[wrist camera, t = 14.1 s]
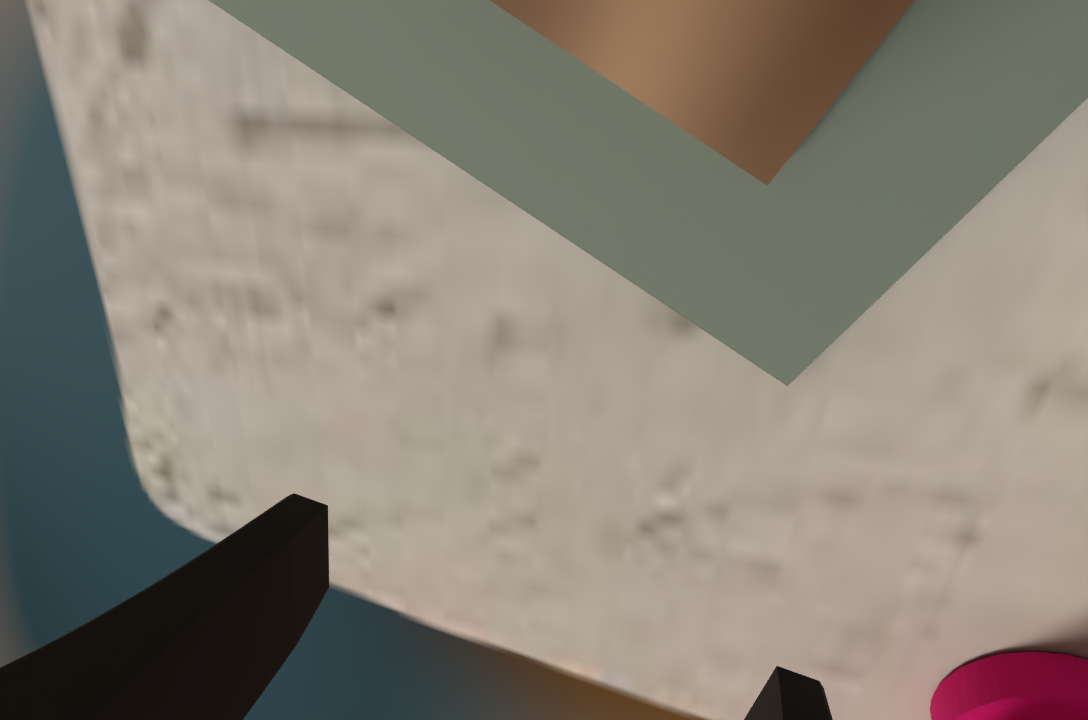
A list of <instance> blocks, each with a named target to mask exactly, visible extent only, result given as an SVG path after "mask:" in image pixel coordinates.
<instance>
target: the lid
mask: <svg viewBox="0 0 1088 720" xmlns="http://www.w3.org/2000/svg"><path fill="white" fill-rule="evenodd" d="M490 1H491V2H493V3H494V4H496V5H497V6H499V7H500V8H502V9H503V10H505V11H506V12H508V13H509V14H511V15H512V16H514V17H515V18H517V19H518V20H520V21H521V22H523V23H524V24H526V25H527V26H529V27H530V28H532V29H533V30H535V31H536V32H538V33H539V34H541V35H542V36H544V37H545V38H547V39H548V40H550V41H551V42H553V43H554V44H556V45H557V46H559V47H560V48H562V49H563V50H565V51H566V52H568V53H569V54H571V55H572V56H574V57H575V58H577V59H578V60H580V61H581V62H583V63H584V64H586V65H587V66H589V67H590V68H592V69H593V70H595V71H596V72H598V73H599V74H601V75H602V76H604V77H605V78H607V79H608V80H610V81H611V82H613V83H614V84H616V85H617V86H619V87H620V88H622V89H623V90H625V91H626V92H628V93H629V94H631V95H632V96H634V97H635V98H637V99H638V100H640V101H641V102H643V103H644V104H646V105H647V106H649V107H650V108H652V109H653V110H655V111H656V112H658V113H659V114H661V115H662V116H664V117H665V118H667V119H668V120H670V121H671V122H673V123H674V124H676V125H677V126H679V127H680V128H682V129H683V130H685V131H686V132H688V133H689V134H691V135H692V136H694V137H695V138H697V139H698V140H700V141H701V142H703V143H704V144H706V145H707V146H709V147H710V148H712V149H713V150H715V151H716V152H718V153H719V154H721V155H722V156H723V157H725V158H726V159H728V160H729V161H731V162H732V163H734V164H735V165H737V166H738V167H740V168H741V169H743V170H744V171H746V172H747V173H749V174H750V175H752V176H753V177H755V178H756V179H758V180H759V181H761V182H762V183H764V184H765V185H768V184H769V183H770V182H771V180H772V179H773V178H774V177H775V175H776V174H777V173H778V171H779V170H780V169H781V168H782V166H783V165H784V164H785V163H786V161H787V160H788V159H789V158H790V156H791V155H792V154H793V153H794V151H795V150H796V149H797V148H798V146H799V145H800V144H801V142H802V141H803V140H804V139H805V137H806V136H807V135H808V134H809V132H810V131H811V130H812V129H813V127H814V126H815V125H816V124H817V122H818V121H819V120H820V118H821V117H822V116H823V115H824V113H825V112H826V111H827V110H828V108H829V107H830V106H831V105H832V103H833V102H834V101H835V100H836V98H837V97H838V96H839V95H840V93H841V92H842V91H843V89H844V88H845V87H846V86H847V84H848V83H849V82H850V81H851V79H852V78H853V77H854V76H855V74H856V73H857V72H858V71H859V69H860V68H861V67H862V66H863V64H864V63H865V62H866V60H867V59H868V58H869V57H870V55H871V54H872V53H873V52H874V50H875V49H876V48H877V47H878V45H879V44H880V43H881V42H882V40H883V39H884V38H885V37H886V35H887V34H888V33H889V31H890V30H891V29H892V28H893V26H894V25H895V24H896V23H897V21H898V20H899V19H900V18H901V16H902V15H903V14H904V13H905V11H906V10H907V9H908V7H909V6H910V5H911V4H912V2H913V1H914V0H490Z"/></svg>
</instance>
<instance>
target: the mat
mask: <svg viewBox="0 0 1088 720" xmlns="http://www.w3.org/2000/svg"><path fill="white" fill-rule="evenodd" d="M209 1H211V2H212V3H214V4H215V5H217V6H218V7H220V8H221V9H223V10H224V11H226V12H227V13H229V14H230V15H232V16H233V17H235V18H236V19H238V20H239V21H241V22H242V23H244V24H245V25H247V26H248V27H250V28H251V29H253V30H254V31H256V32H257V33H259V34H260V35H262V36H263V37H265V38H266V39H268V40H269V41H271V42H272V43H274V44H275V45H277V46H278V47H280V48H281V49H283V50H284V51H286V52H287V53H289V54H290V55H292V56H293V57H295V58H296V59H298V60H299V61H301V62H302V63H304V64H305V65H307V66H308V67H310V68H311V69H313V70H314V71H316V72H317V73H319V74H320V75H322V76H323V77H325V78H326V79H328V80H329V81H331V82H332V83H334V84H335V85H337V86H338V87H340V88H341V89H343V90H344V91H346V92H347V93H349V94H350V95H352V96H353V97H355V98H356V99H358V100H359V101H361V102H362V103H364V104H365V105H367V106H368V107H370V108H371V109H373V110H374V111H376V112H377V113H379V114H380V115H382V116H383V117H385V118H386V119H388V120H389V121H391V122H392V123H394V124H395V125H397V126H398V127H400V128H401V129H403V130H404V131H406V132H407V133H409V134H410V135H412V136H413V137H415V138H416V139H418V140H419V141H421V142H422V143H424V144H425V145H427V146H428V147H430V148H431V149H433V150H434V151H436V152H437V153H439V154H440V155H442V156H443V157H445V158H446V159H448V160H449V161H451V162H452V163H454V164H455V165H457V166H458V167H460V168H461V169H463V170H464V171H466V172H467V173H469V174H470V175H472V176H473V177H475V178H476V179H478V180H479V181H481V182H482V183H484V184H485V185H487V186H488V187H490V188H491V189H493V190H494V191H496V192H497V193H499V194H500V195H502V196H503V197H505V198H506V199H508V200H509V201H511V202H512V203H514V204H515V205H517V206H518V207H520V208H521V209H523V210H524V211H526V212H527V213H529V214H530V215H532V216H533V217H535V218H536V219H538V220H539V221H541V222H542V223H544V224H545V225H547V226H548V227H550V228H551V229H553V230H554V231H556V232H557V233H559V234H560V235H562V236H563V237H565V238H566V239H568V240H569V241H571V242H572V243H574V244H575V245H577V246H578V247H580V248H581V249H583V250H584V251H586V252H587V253H589V254H590V255H592V256H593V257H595V258H596V259H598V260H599V261H601V262H602V263H604V264H605V265H607V266H608V267H610V268H611V269H613V270H614V271H616V272H617V273H619V274H620V275H622V276H623V277H625V278H626V279H628V280H629V281H631V282H632V283H634V284H635V285H637V286H638V287H640V288H641V289H643V290H644V291H646V292H647V293H649V294H650V295H652V296H653V297H655V298H656V299H658V300H659V301H661V302H662V303H664V304H665V305H667V306H668V307H670V308H671V309H673V310H674V311H676V312H677V313H679V314H680V315H682V316H683V317H685V318H686V319H688V320H689V321H691V322H692V323H694V324H695V325H697V326H698V327H700V328H701V329H703V330H704V331H706V332H707V333H709V334H710V335H712V336H713V337H715V338H716V339H718V340H719V341H721V342H722V343H724V344H725V345H727V346H728V347H730V348H731V349H733V350H734V351H736V352H737V353H739V354H740V355H742V356H743V357H745V358H746V359H748V360H749V361H751V362H752V363H754V364H755V365H757V366H758V367H760V368H761V369H763V370H764V371H766V372H767V373H769V374H770V375H772V376H773V377H775V378H776V379H778V380H779V381H781V382H782V383H784V384H785V385H787V386H788V385H789V384H790V383H791V382H792V381H793V380H794V379H795V378H796V377H797V376H798V375H799V374H801V373H802V372H803V371H804V370H805V369H806V368H807V367H808V366H809V365H810V364H811V363H812V362H813V361H814V360H815V359H816V358H817V357H818V356H819V355H820V354H821V353H822V352H823V351H824V350H825V349H827V348H828V347H829V346H830V345H831V344H832V343H833V342H834V341H835V340H836V339H837V338H838V337H839V336H840V335H841V334H842V333H843V332H844V331H845V330H846V329H847V328H848V327H849V326H850V325H851V324H853V323H854V322H855V321H856V320H857V319H858V318H859V317H860V316H861V315H862V314H863V313H864V312H865V311H866V310H867V309H868V308H869V307H870V306H871V305H872V304H873V303H874V302H875V301H876V300H878V299H879V298H880V297H881V296H882V295H883V294H884V293H885V292H886V291H887V290H888V289H889V288H890V287H891V286H892V285H893V284H894V283H895V282H896V281H897V280H898V279H899V278H900V277H901V276H902V275H904V274H905V273H906V272H907V271H908V270H909V269H910V268H911V267H912V266H913V265H914V264H915V263H916V262H917V261H918V260H919V259H920V258H921V257H922V256H923V255H924V254H925V253H926V252H927V251H928V250H930V249H931V248H932V247H933V246H934V245H935V244H936V243H937V242H938V241H939V240H940V239H941V238H942V237H943V236H944V235H945V234H946V233H947V232H948V231H949V230H950V229H951V228H952V227H953V226H955V225H956V224H957V223H958V222H959V221H960V220H961V219H962V218H963V217H964V216H965V215H966V214H967V213H968V212H969V211H970V210H971V209H972V208H973V207H974V206H975V205H976V204H977V203H978V202H979V201H981V200H982V199H983V198H984V197H985V196H986V195H987V194H988V193H989V192H990V191H991V190H992V189H993V188H994V187H995V186H996V185H997V184H998V183H999V182H1000V181H1001V180H1002V179H1003V178H1004V177H1005V176H1007V175H1008V174H1009V173H1010V172H1011V171H1012V170H1013V169H1014V168H1015V167H1016V166H1017V165H1018V164H1019V163H1020V162H1021V161H1022V160H1023V159H1024V158H1025V157H1026V156H1027V155H1028V154H1029V153H1030V152H1032V151H1033V150H1034V149H1035V148H1036V147H1037V146H1038V145H1039V144H1040V143H1041V142H1042V141H1043V140H1044V139H1045V138H1046V137H1047V136H1048V135H1049V134H1050V133H1051V132H1052V131H1053V130H1054V129H1055V128H1056V127H1058V126H1059V125H1060V124H1061V123H1062V122H1063V121H1064V120H1065V119H1066V118H1067V117H1068V116H1069V115H1070V114H1071V113H1072V112H1073V111H1074V110H1075V109H1076V108H1077V107H1078V106H1079V105H1080V104H1081V103H1082V102H1084V101H1085V100H1086V99H1087V98H1088V0H914V1H913V2H912V4H911V5H910V6H909V7H908V9H907V10H906V11H905V13H904V14H903V15H902V16H901V18H900V19H899V20H898V21H897V23H896V24H895V25H894V26H893V28H892V29H891V30H890V31H889V33H888V34H887V35H886V37H885V38H884V39H883V40H882V42H881V43H880V44H879V45H878V47H877V48H876V49H875V50H874V52H873V53H872V54H871V55H870V57H869V58H868V59H867V60H866V62H865V63H864V64H863V66H862V67H861V68H860V69H859V71H858V72H857V73H856V74H855V76H854V77H853V78H852V79H851V81H850V82H849V83H848V84H847V86H846V87H845V88H844V89H843V91H842V92H841V93H840V95H839V96H838V97H837V98H836V100H835V101H834V102H833V103H832V105H831V106H830V107H829V108H828V110H827V111H826V112H825V113H824V115H823V116H822V117H821V118H820V120H819V121H818V122H817V124H816V125H815V126H814V127H813V129H812V130H811V131H810V132H809V134H808V135H807V136H806V137H805V139H804V140H803V141H802V142H801V144H800V145H799V146H798V148H797V149H796V150H795V151H794V153H793V154H792V155H791V156H790V158H789V159H788V160H787V161H786V163H785V164H784V165H783V166H782V168H781V169H780V170H779V171H778V173H777V174H776V175H775V177H774V178H773V179H772V180H771V182H770V183H769V184H768V185H765V184H764V183H762V182H761V181H759V180H758V179H756V178H755V177H753V176H752V175H750V174H749V173H747V172H746V171H744V170H743V169H741V168H740V167H738V166H737V165H735V164H734V163H732V162H731V161H729V160H728V159H726V158H725V157H723V156H722V155H721V154H719V153H718V152H716V151H715V150H713V149H712V148H710V147H709V146H707V145H706V144H704V143H703V142H701V141H700V140H698V139H697V138H695V137H694V136H692V135H691V134H689V133H688V132H686V131H685V130H683V129H682V128H680V127H679V126H677V125H676V124H674V123H673V122H671V121H670V120H668V119H667V118H665V117H664V116H662V115H661V114H659V113H658V112H656V111H655V110H653V109H652V108H650V107H649V106H647V105H646V104H644V103H643V102H641V101H640V100H638V99H637V98H635V97H634V96H632V95H631V94H629V93H628V92H626V91H625V90H623V89H622V88H620V87H619V86H617V85H616V84H614V83H613V82H611V81H610V80H608V79H607V78H605V77H604V76H602V75H601V74H599V73H598V72H596V71H595V70H593V69H592V68H590V67H589V66H587V65H586V64H584V63H583V62H581V61H580V60H578V59H577V58H575V57H574V56H572V55H571V54H569V53H568V52H566V51H565V50H563V49H562V48H560V47H559V46H557V45H556V44H554V43H553V42H551V41H550V40H548V39H547V38H545V37H544V36H542V35H541V34H539V33H538V32H536V31H535V30H533V29H532V28H530V27H529V26H527V25H526V24H524V23H523V22H521V21H520V20H518V19H517V18H515V17H514V16H512V15H511V14H509V13H508V12H506V11H505V10H503V9H502V8H500V7H499V6H497V5H496V4H494V3H493V2H491V1H490V0H209Z"/></svg>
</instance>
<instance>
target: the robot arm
mask: <svg viewBox="0 0 1088 720" xmlns="http://www.w3.org/2000/svg"><path fill="white" fill-rule="evenodd" d="M328 588H329V552H328V505H325V504H322V503H319V502H316V501H314V500H311V499H308V498H305V497H302V496H300V495H297V494H292V495H289V496H287V497H286V498H284V499H283V500H282V501H280V502H279V503H277V504H276V505H274V506H273V507H271V508H270V509H268V510H267V511H265V512H264V513H262V514H261V515H259V516H258V517H256V518H255V519H253V520H252V521H250V522H249V523H248V524H246V525H245V526H243V527H242V528H240V529H239V530H237V531H236V532H234V533H233V534H231V535H230V536H228V537H227V538H225V539H224V540H222V541H220V542H219V543H217V544H216V545H215V546H213V547H211V548H210V549H209V550H207V551H205V552H204V553H202V554H201V555H199V556H197V557H196V558H194V559H193V560H191V561H189V562H188V563H187V564H185V565H183V566H182V567H180V568H178V569H177V570H175V571H174V572H172V573H170V574H169V575H167V576H166V577H165V578H163V579H161V580H159V581H158V582H156V583H155V584H153V585H151V586H150V587H148V588H146V589H145V590H143V591H141V592H139V593H138V594H136V595H134V596H133V597H131V598H129V599H127V600H126V601H124V602H122V603H121V604H119V605H117V606H115V607H114V608H112V609H110V610H108V611H107V612H105V613H103V614H101V615H100V616H98V617H96V618H95V619H93V620H91V621H89V622H87V623H86V624H84V625H82V626H80V627H78V628H77V629H75V630H73V631H71V632H69V633H67V634H65V635H64V636H62V637H60V638H58V639H56V640H54V641H52V642H50V643H48V644H46V645H45V646H43V647H41V648H39V649H37V650H35V651H33V652H31V653H29V654H27V655H25V656H23V657H21V658H19V659H17V660H15V661H13V662H11V663H9V664H7V665H5V666H3V667H1V668H0V720H243V719H244V717H245V716H246V715H247V713H248V712H249V711H250V709H251V707H252V706H253V705H254V704H255V702H256V701H257V699H258V698H259V697H260V695H261V694H262V693H263V691H264V690H265V688H266V687H267V685H268V684H269V683H270V681H271V680H272V678H273V677H274V676H275V674H276V673H277V671H278V670H279V669H280V667H281V666H282V665H283V663H284V662H285V660H286V659H287V658H288V656H289V655H290V653H291V652H292V651H293V649H294V648H295V646H296V645H297V643H298V641H299V639H300V638H301V636H302V634H303V633H304V631H305V629H306V627H307V626H308V624H309V622H310V621H311V619H312V617H313V615H314V613H315V612H316V610H317V608H318V606H319V604H320V602H321V601H322V599H323V597H324V595H325V593H326V592H327V590H328ZM744 720H833V719H832V716H831V713H830V709H829V706H828V702H827V699H826V695H825V691H824V688H823V686H822V685H821V683H820V681H818V680H815V679H812V678H809V677H806V676H804V675H801V674H798V673H795V672H792V671H790V670H787V669H784V668H781V667H778V666H777V667H776V668H775V670H774V671H773V673H772V675H771V676H770V678H769V680H768V681H767V683H766V685H765V686H764V688H763V689H762V691H761V693H760V694H759V696H758V698H757V699H756V701H755V703H754V704H753V706H752V707H751V709H750V711H749V712H748V714H747V716H746V717H745V719H744Z"/></svg>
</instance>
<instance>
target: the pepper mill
mask: <svg viewBox="0 0 1088 720" xmlns="http://www.w3.org/2000/svg"><path fill="white" fill-rule="evenodd" d="M930 713H931V719H932V720H1088V660H1087V659H1083V658H1079V657H1075V656H1071V655H1067V654H1060V653H1049V652H1033V651H1032V652H1017V653H1004V654H998V655H994V656H990V657H987V658H983V659H979V660H976V661H974V662H971V663H969V664H967V665H965V666H962V667H960V668H958V669H956V670H955V671H954V672H953V673H952V674H950V675H949V676H948V677H947V678H946V679H944V680H943V681H942V682H941V683H940V684H939V685H938V687H937V689H936V691H935V692H934V695H933V697H932V700H931V706H930Z"/></svg>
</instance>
